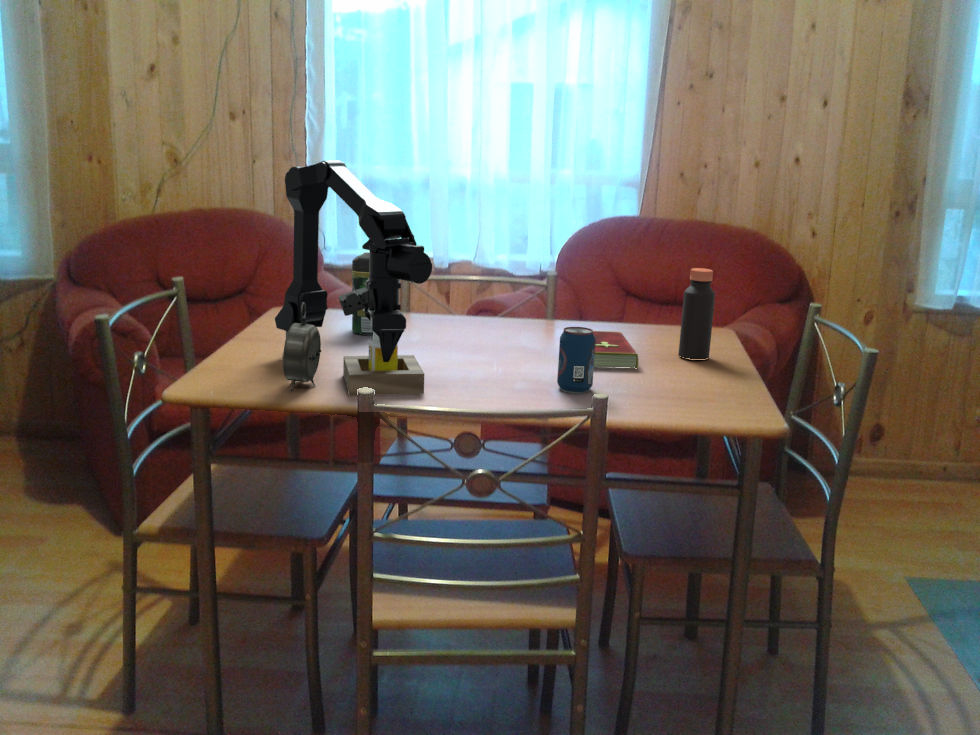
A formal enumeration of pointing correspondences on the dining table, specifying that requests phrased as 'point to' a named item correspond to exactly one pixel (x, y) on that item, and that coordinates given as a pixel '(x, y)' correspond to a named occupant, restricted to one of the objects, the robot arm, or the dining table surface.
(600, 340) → the hardcover book
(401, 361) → the well block
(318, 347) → the alarm clock
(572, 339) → the soda can
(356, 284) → the coffee jar
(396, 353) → the supplement bottle
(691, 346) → the vinegar
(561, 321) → the dining table surface
